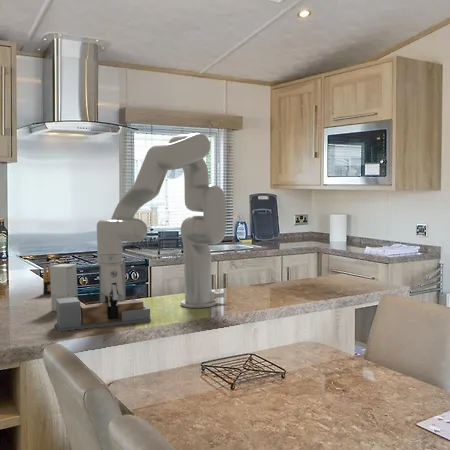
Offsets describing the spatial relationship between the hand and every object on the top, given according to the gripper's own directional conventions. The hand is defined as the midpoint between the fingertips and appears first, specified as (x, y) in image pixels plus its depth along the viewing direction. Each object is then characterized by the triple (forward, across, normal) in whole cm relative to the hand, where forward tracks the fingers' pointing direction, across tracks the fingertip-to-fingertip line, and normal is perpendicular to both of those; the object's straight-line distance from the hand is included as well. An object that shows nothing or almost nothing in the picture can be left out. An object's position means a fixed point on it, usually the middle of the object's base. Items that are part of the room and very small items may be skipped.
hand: (111, 316), depth 175 cm
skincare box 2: (+2, +31, -8) cm, 32 cm away
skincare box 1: (+2, +27, +10) cm, 29 cm away
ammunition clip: (+2, +59, +9) cm, 59 cm away
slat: (+1, 0, 0) cm, 1 cm away
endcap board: (+2, 0, +2) cm, 3 cm away
